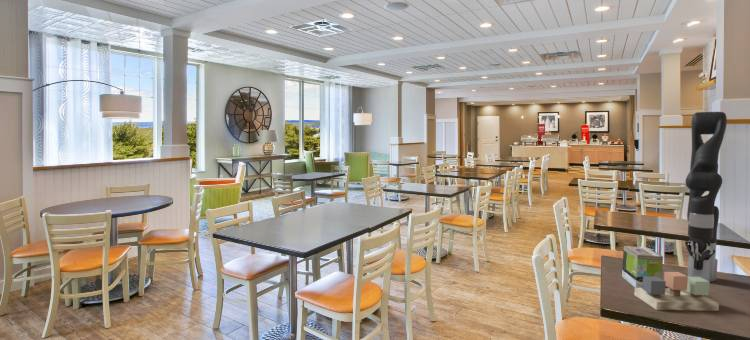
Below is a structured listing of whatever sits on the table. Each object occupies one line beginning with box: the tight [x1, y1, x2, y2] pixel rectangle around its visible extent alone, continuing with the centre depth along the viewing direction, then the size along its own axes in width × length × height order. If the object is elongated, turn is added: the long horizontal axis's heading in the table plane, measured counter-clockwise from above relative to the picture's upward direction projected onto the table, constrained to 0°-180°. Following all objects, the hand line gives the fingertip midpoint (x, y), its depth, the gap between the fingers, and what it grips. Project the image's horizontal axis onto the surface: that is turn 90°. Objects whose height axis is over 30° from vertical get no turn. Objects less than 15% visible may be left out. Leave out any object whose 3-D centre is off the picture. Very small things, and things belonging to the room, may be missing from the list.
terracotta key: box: [663, 271, 688, 290], centre depth 156 cm, size 5×5×5 cm
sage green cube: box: [686, 277, 711, 296], centre depth 156 cm, size 5×5×5 cm
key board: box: [634, 287, 720, 312], centre depth 157 cm, size 22×14×7 cm, turn 87°
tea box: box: [621, 245, 664, 289], centre depth 176 cm, size 15×10×15 cm, turn 168°
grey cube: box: [643, 276, 666, 295], centre depth 157 cm, size 5×5×5 cm
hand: (698, 269), depth 156 cm, fingers closed
